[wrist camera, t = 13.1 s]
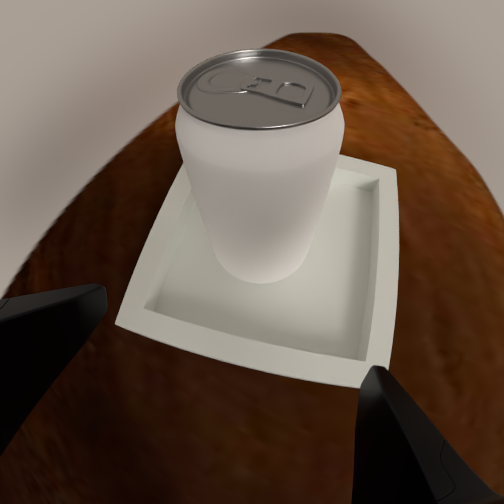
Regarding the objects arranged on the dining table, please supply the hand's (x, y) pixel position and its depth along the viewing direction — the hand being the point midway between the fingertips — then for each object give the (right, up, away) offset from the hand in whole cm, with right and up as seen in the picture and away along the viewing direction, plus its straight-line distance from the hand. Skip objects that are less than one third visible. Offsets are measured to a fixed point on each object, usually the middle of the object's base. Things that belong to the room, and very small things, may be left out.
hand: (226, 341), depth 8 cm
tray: (+2, +3, +11) cm, 12 cm away
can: (+1, +3, +11) cm, 12 cm away
